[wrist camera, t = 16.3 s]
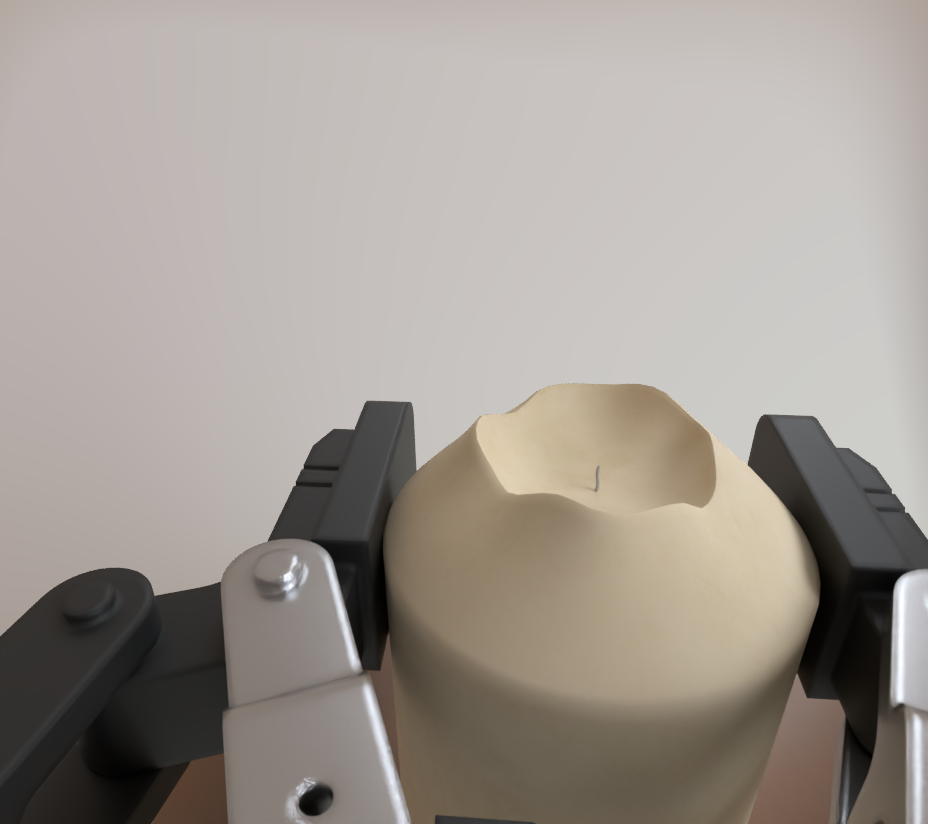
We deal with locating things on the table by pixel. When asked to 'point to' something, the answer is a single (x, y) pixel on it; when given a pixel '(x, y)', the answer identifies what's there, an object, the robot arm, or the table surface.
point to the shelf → (772, 818)
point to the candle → (592, 617)
